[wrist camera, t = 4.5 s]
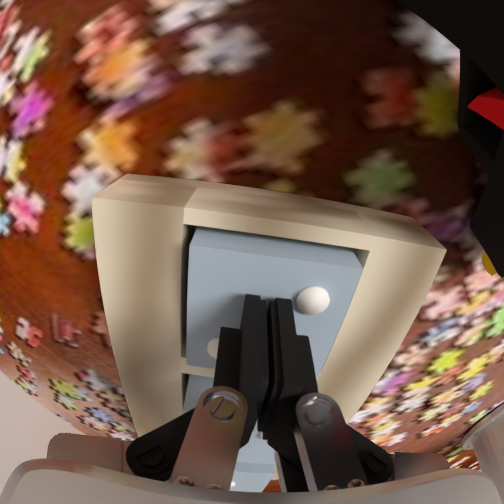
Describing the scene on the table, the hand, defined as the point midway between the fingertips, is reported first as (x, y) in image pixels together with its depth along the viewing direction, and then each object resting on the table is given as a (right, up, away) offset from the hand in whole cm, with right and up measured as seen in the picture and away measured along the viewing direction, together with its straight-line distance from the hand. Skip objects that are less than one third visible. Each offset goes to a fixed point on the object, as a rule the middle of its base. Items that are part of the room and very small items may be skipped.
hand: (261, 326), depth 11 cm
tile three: (0, +1, +2) cm, 3 cm away
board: (-1, -5, +8) cm, 9 cm away
